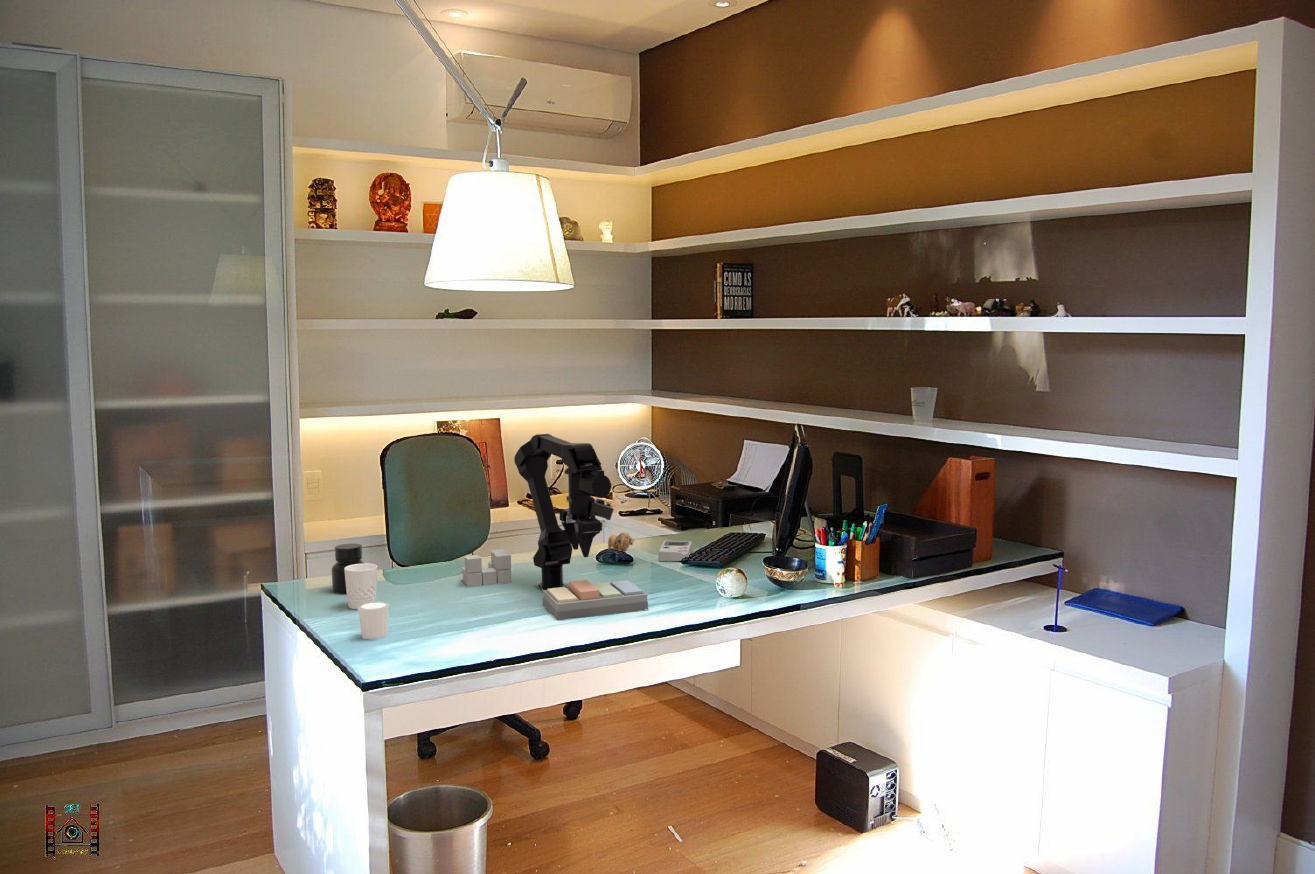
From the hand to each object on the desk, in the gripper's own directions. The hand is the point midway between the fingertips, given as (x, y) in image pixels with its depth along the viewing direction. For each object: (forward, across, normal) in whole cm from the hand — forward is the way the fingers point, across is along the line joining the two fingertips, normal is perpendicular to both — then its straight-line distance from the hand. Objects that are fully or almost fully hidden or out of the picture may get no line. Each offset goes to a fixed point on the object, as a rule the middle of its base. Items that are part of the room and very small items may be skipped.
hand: (580, 553), depth 245 cm
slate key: (+10, -8, -9) cm, 16 cm away
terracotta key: (+9, -8, +2) cm, 12 cm away
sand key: (+10, -8, +7) cm, 15 cm away
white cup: (+12, +15, +53) cm, 56 cm away
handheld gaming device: (+13, +35, -40) cm, 55 cm away
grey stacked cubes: (+12, +29, +19) cm, 37 cm away
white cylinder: (+12, -11, +52) cm, 55 cm away
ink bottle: (+12, +32, +55) cm, 65 cm away
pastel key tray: (+12, -8, -1) cm, 15 cm away
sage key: (+10, -8, -4) cm, 14 cm away
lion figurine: (+12, +39, -23) cm, 47 cm away
